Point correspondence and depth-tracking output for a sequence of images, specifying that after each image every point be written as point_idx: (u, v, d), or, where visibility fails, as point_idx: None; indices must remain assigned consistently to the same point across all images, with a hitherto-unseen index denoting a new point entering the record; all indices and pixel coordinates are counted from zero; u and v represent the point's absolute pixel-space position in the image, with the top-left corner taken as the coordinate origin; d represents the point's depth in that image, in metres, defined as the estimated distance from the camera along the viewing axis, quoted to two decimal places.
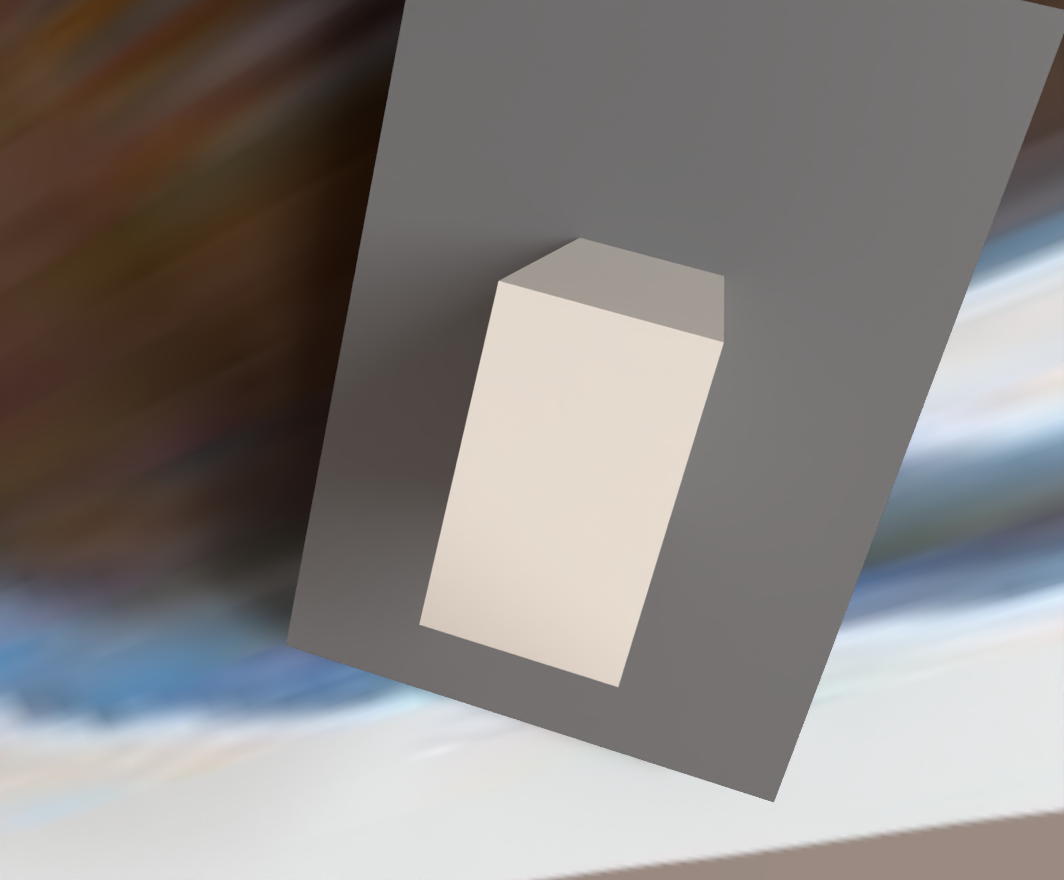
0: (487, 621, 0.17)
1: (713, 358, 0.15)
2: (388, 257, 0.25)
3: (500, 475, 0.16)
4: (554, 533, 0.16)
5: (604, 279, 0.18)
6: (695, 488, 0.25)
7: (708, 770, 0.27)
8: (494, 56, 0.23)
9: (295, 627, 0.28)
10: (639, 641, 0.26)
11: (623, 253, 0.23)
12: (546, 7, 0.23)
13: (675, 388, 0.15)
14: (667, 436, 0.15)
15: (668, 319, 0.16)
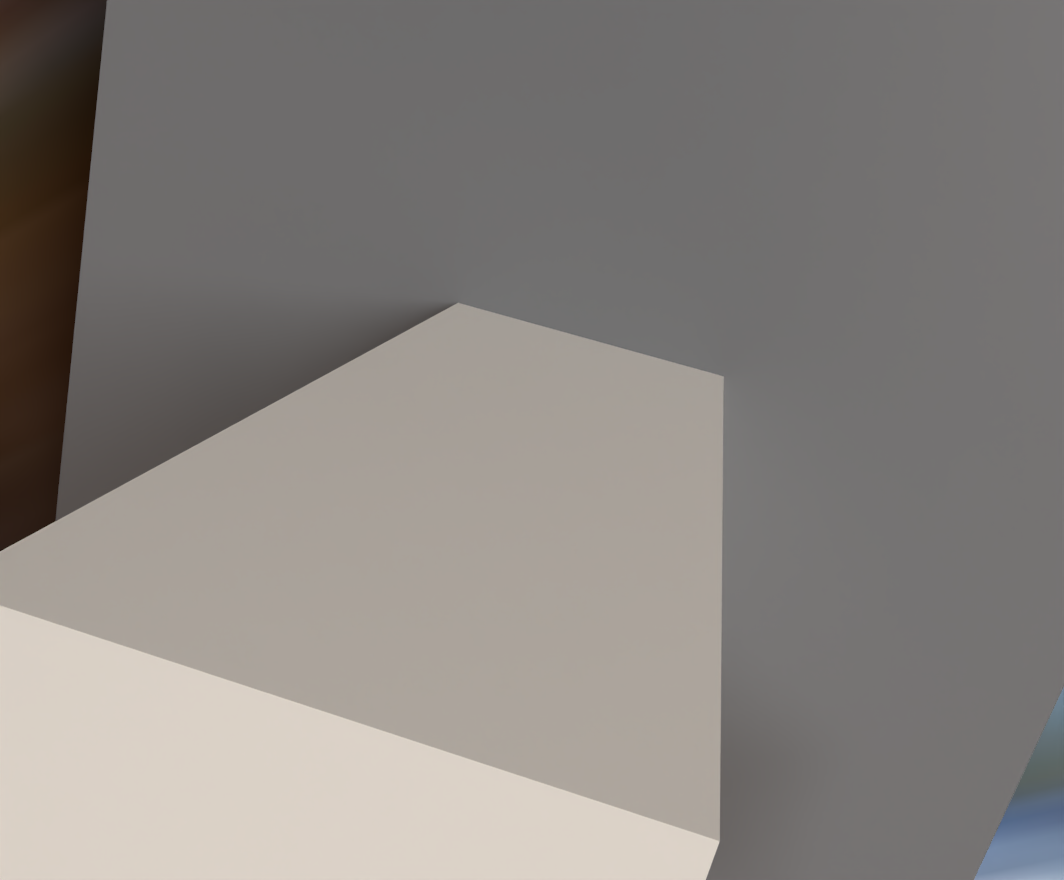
0: None
1: None
2: (125, 333, 0.14)
3: None
4: None
5: (424, 459, 0.07)
6: None
7: None
8: None
9: None
10: None
11: (531, 338, 0.12)
12: None
13: None
14: None
15: (539, 686, 0.05)
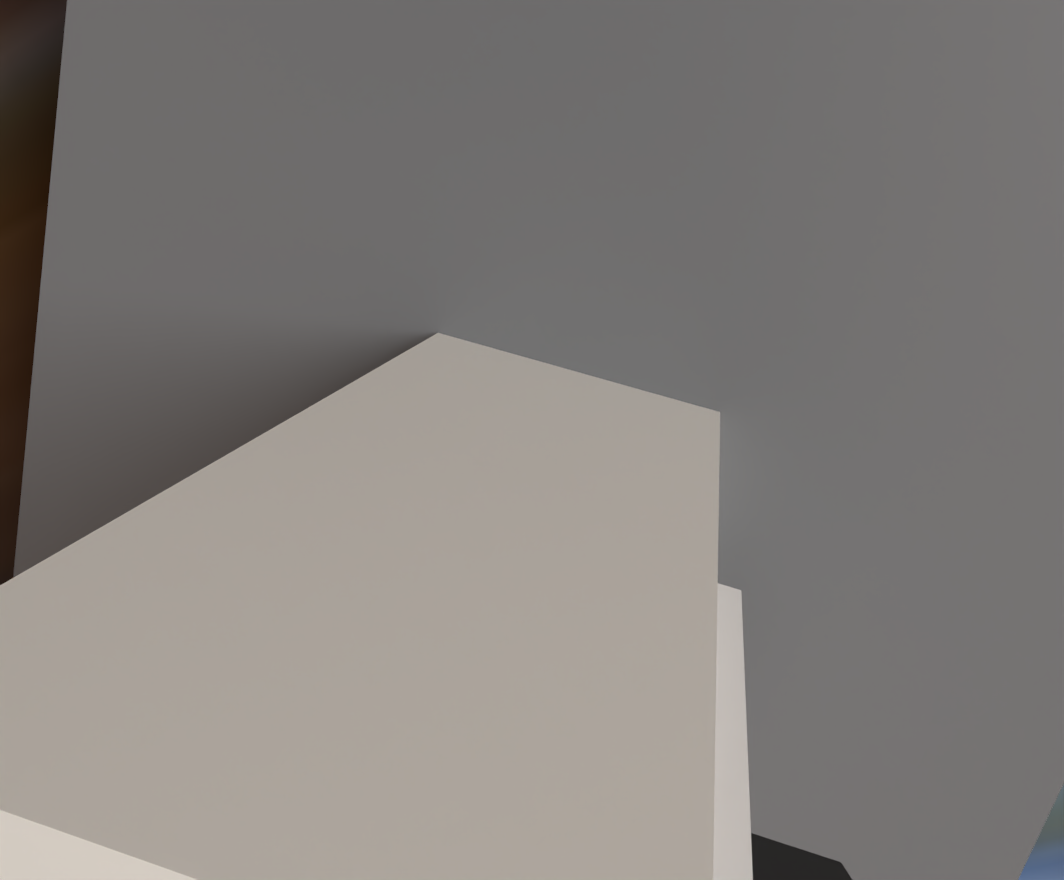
0: None
1: None
2: (88, 364, 0.13)
3: None
4: None
5: (383, 526, 0.06)
6: None
7: None
8: None
9: None
10: None
11: (514, 372, 0.11)
12: None
13: None
14: None
15: (495, 834, 0.04)
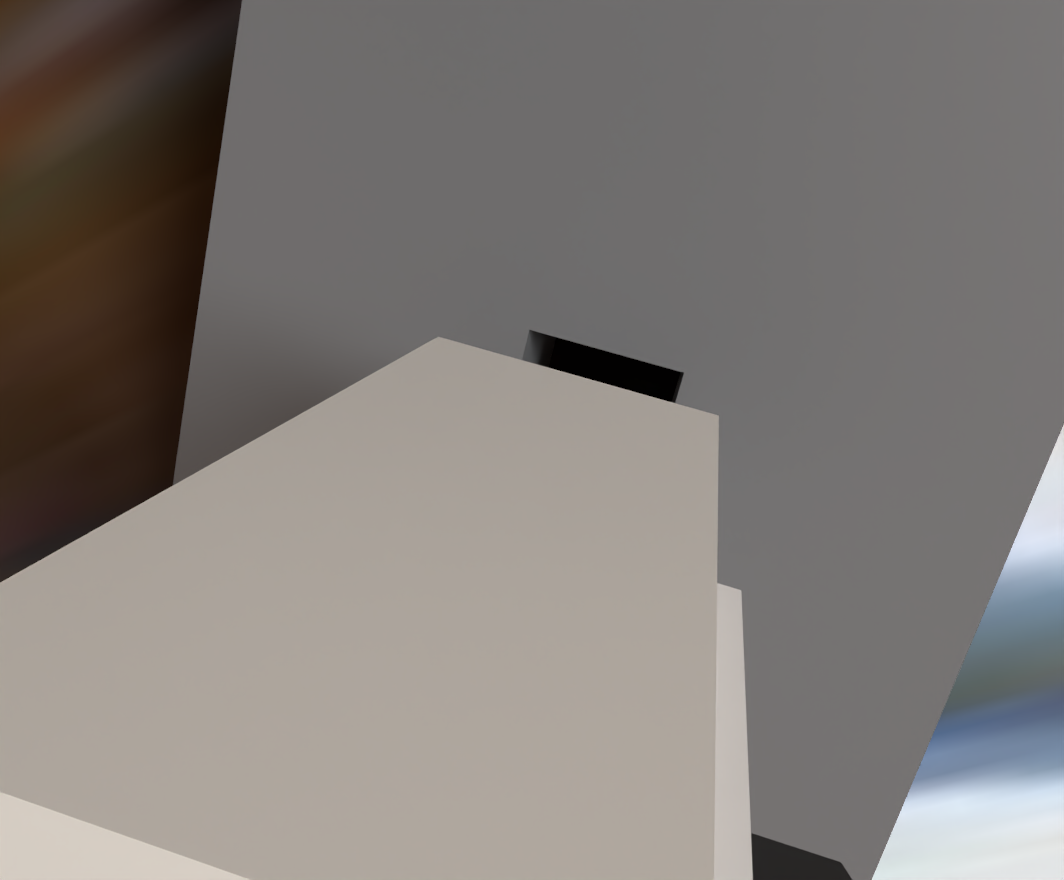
0: None
1: None
2: (241, 307, 0.17)
3: None
4: None
5: (385, 524, 0.07)
6: None
7: None
8: (383, 13, 0.15)
9: None
10: None
11: (514, 375, 0.11)
12: None
13: None
14: None
15: (499, 822, 0.04)
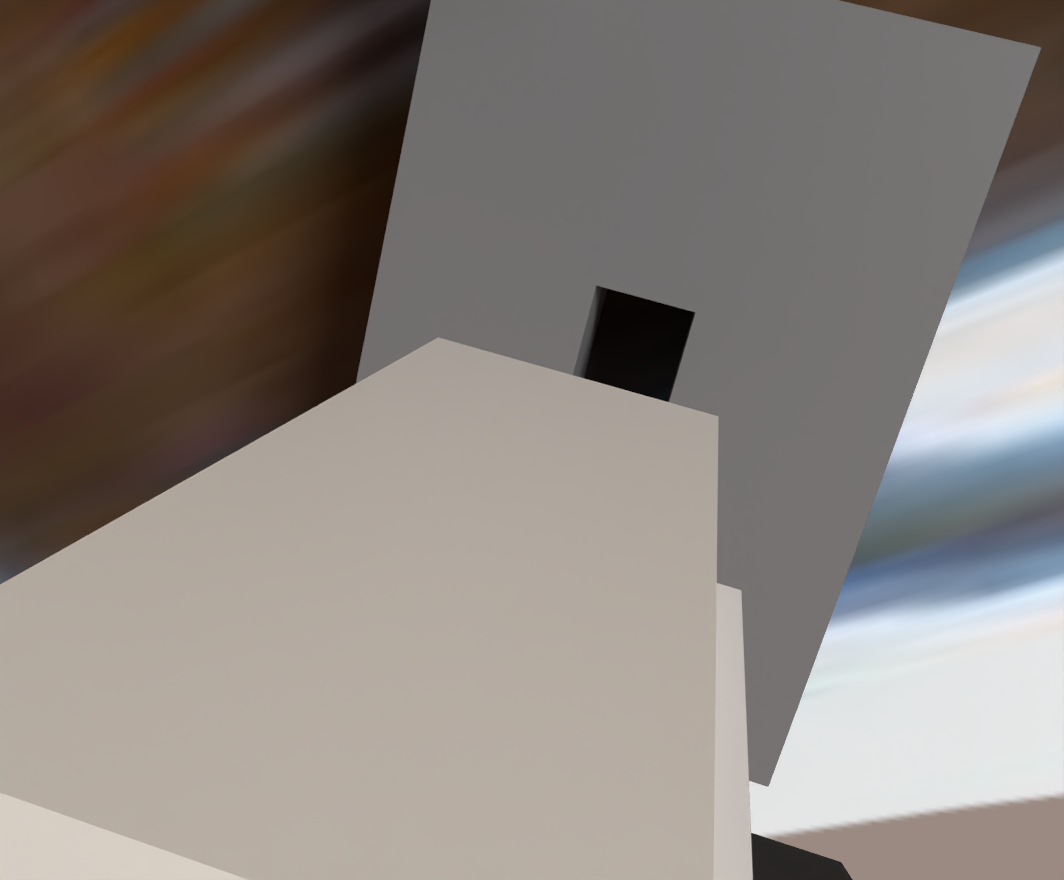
0: None
1: None
2: (406, 272, 0.26)
3: None
4: None
5: (385, 525, 0.07)
6: None
7: None
8: (507, 85, 0.25)
9: None
10: None
11: (514, 376, 0.11)
12: (556, 41, 0.24)
13: None
14: None
15: (499, 822, 0.04)
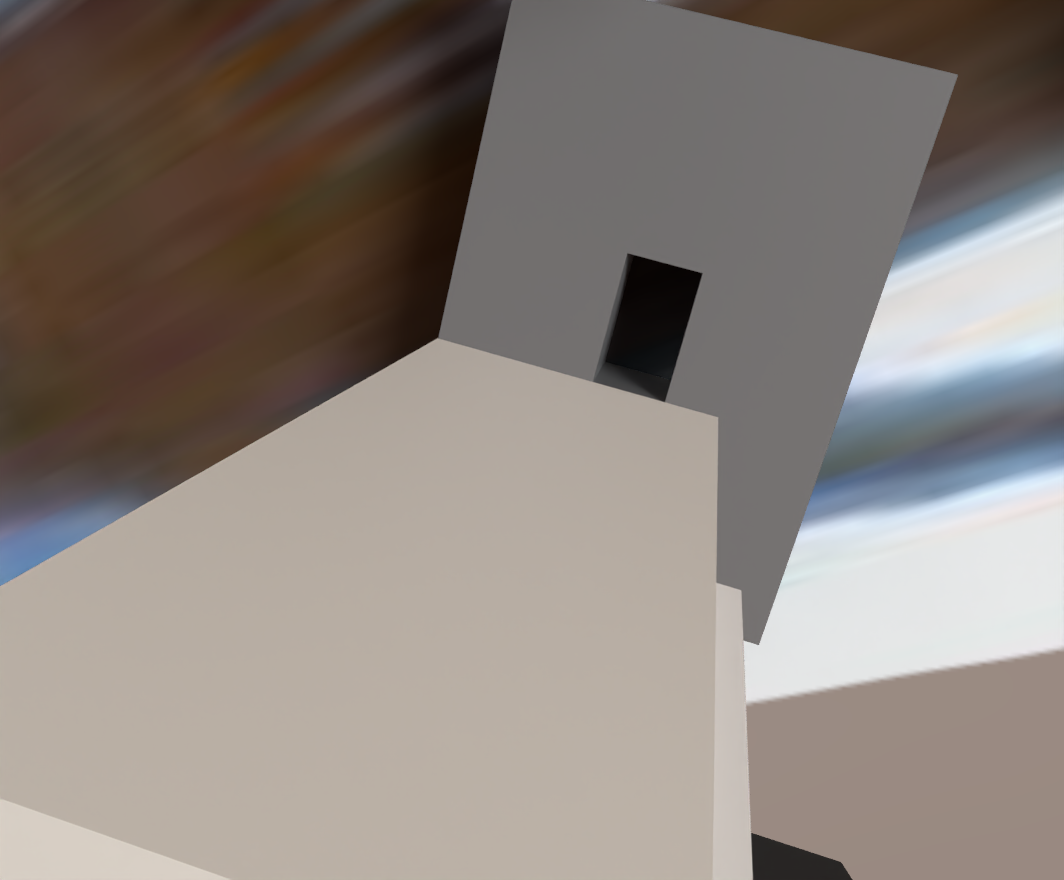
0: None
1: None
2: (481, 243, 0.34)
3: None
4: None
5: (384, 527, 0.07)
6: (701, 409, 0.35)
7: None
8: (560, 101, 0.33)
9: None
10: None
11: (514, 377, 0.11)
12: (598, 68, 0.32)
13: None
14: None
15: (497, 827, 0.04)
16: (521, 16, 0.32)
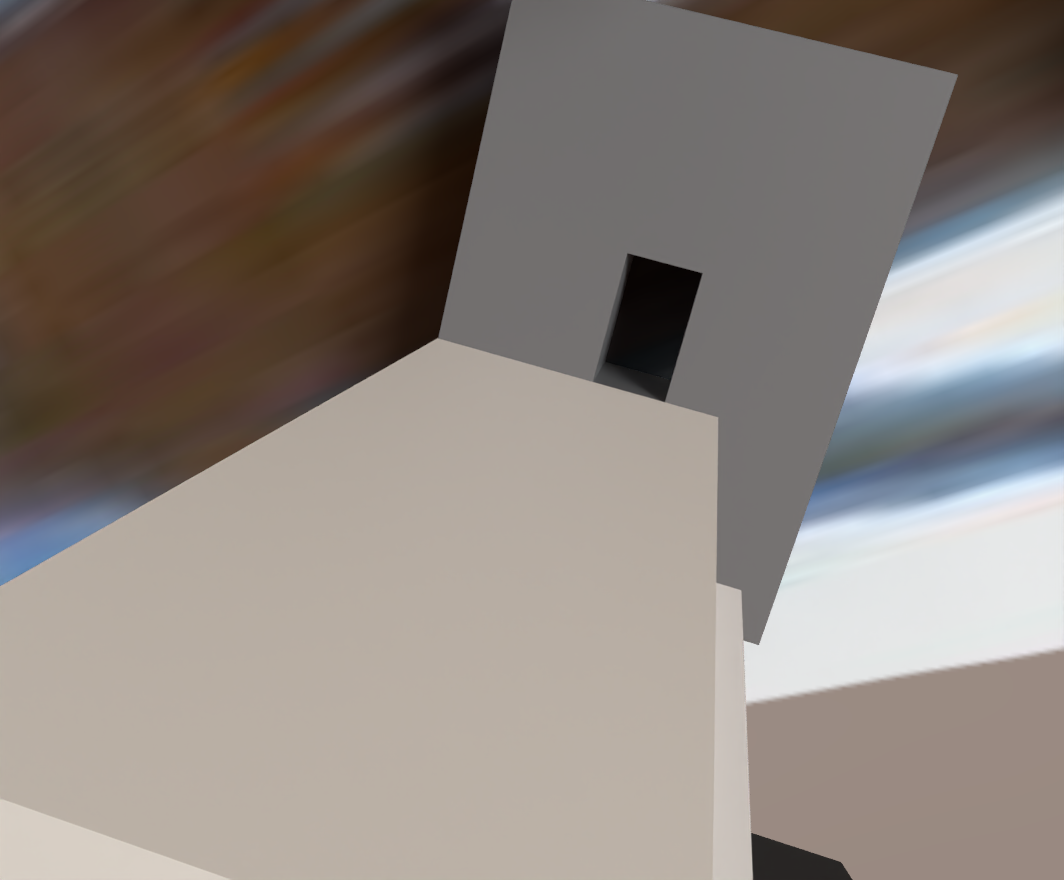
0: None
1: None
2: (481, 243, 0.34)
3: None
4: None
5: (384, 527, 0.07)
6: (701, 409, 0.35)
7: None
8: (560, 101, 0.33)
9: None
10: None
11: (514, 377, 0.11)
12: (598, 68, 0.32)
13: None
14: None
15: (497, 827, 0.04)
16: (521, 16, 0.32)
